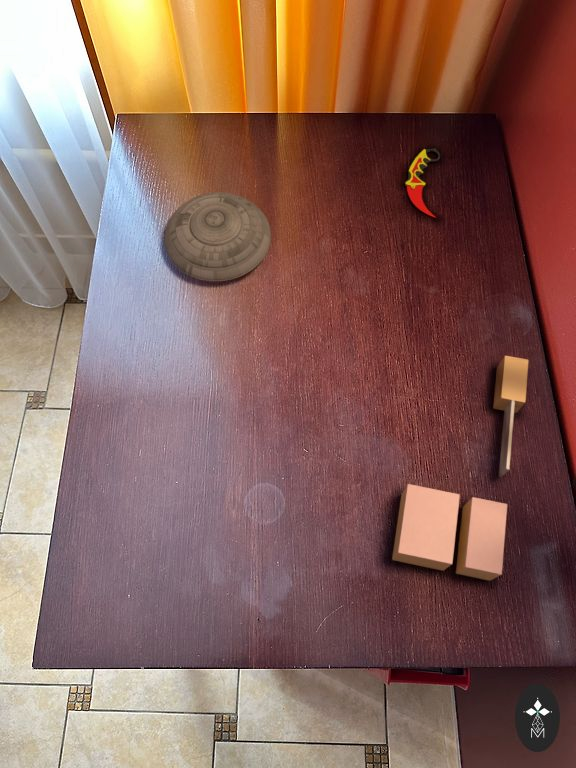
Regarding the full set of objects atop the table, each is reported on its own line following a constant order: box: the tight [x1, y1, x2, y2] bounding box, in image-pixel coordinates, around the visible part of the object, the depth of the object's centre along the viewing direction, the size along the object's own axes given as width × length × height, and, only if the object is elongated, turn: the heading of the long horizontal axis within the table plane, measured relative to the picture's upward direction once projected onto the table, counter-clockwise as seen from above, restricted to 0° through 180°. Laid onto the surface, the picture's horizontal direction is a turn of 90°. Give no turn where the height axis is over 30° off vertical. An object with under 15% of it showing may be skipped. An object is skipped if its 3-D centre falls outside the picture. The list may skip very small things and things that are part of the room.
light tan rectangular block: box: [455, 496, 508, 581], centre depth 78 cm, size 4×8×4 cm, turn 168°
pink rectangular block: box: [391, 483, 461, 572], centre depth 79 cm, size 6×8×4 cm
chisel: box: [492, 355, 530, 478], centre depth 85 cm, size 15×3×4 cm, turn 168°
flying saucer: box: [163, 191, 272, 282], centre depth 95 cm, size 15×15×6 cm
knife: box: [404, 147, 441, 219], centre depth 102 cm, size 13×1×5 cm
